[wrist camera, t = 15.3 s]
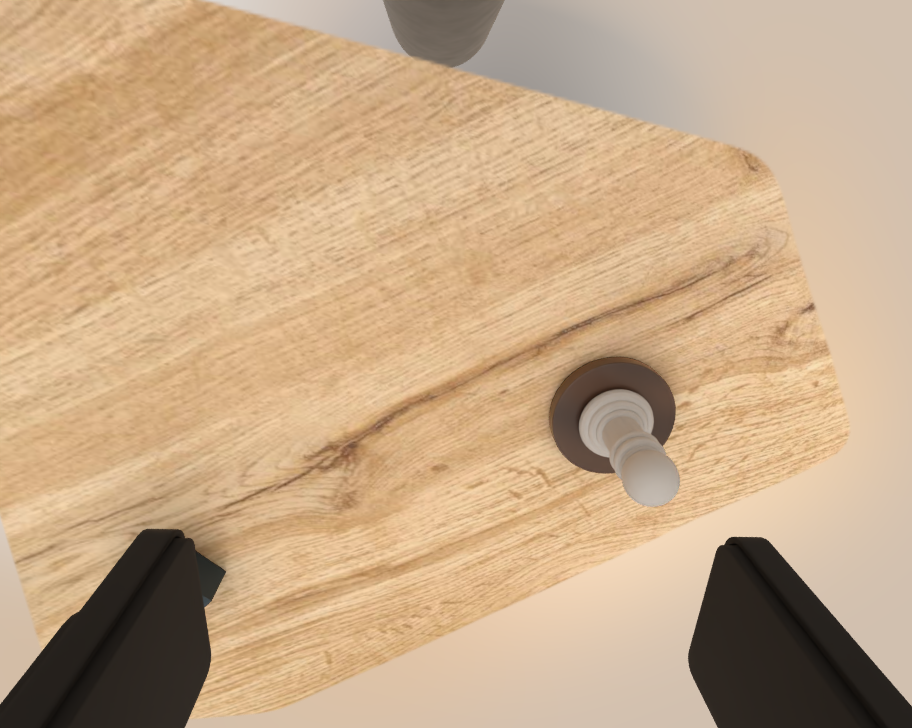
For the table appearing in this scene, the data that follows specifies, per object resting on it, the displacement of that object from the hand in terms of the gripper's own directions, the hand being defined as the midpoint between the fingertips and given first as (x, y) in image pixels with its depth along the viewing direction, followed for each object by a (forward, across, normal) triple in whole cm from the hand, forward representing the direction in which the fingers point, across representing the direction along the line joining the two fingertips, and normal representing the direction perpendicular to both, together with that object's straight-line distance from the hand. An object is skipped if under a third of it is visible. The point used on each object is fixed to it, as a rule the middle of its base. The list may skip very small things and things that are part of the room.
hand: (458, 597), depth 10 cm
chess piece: (+27, -13, +10) cm, 32 cm away
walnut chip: (+28, -13, +10) cm, 33 cm away
